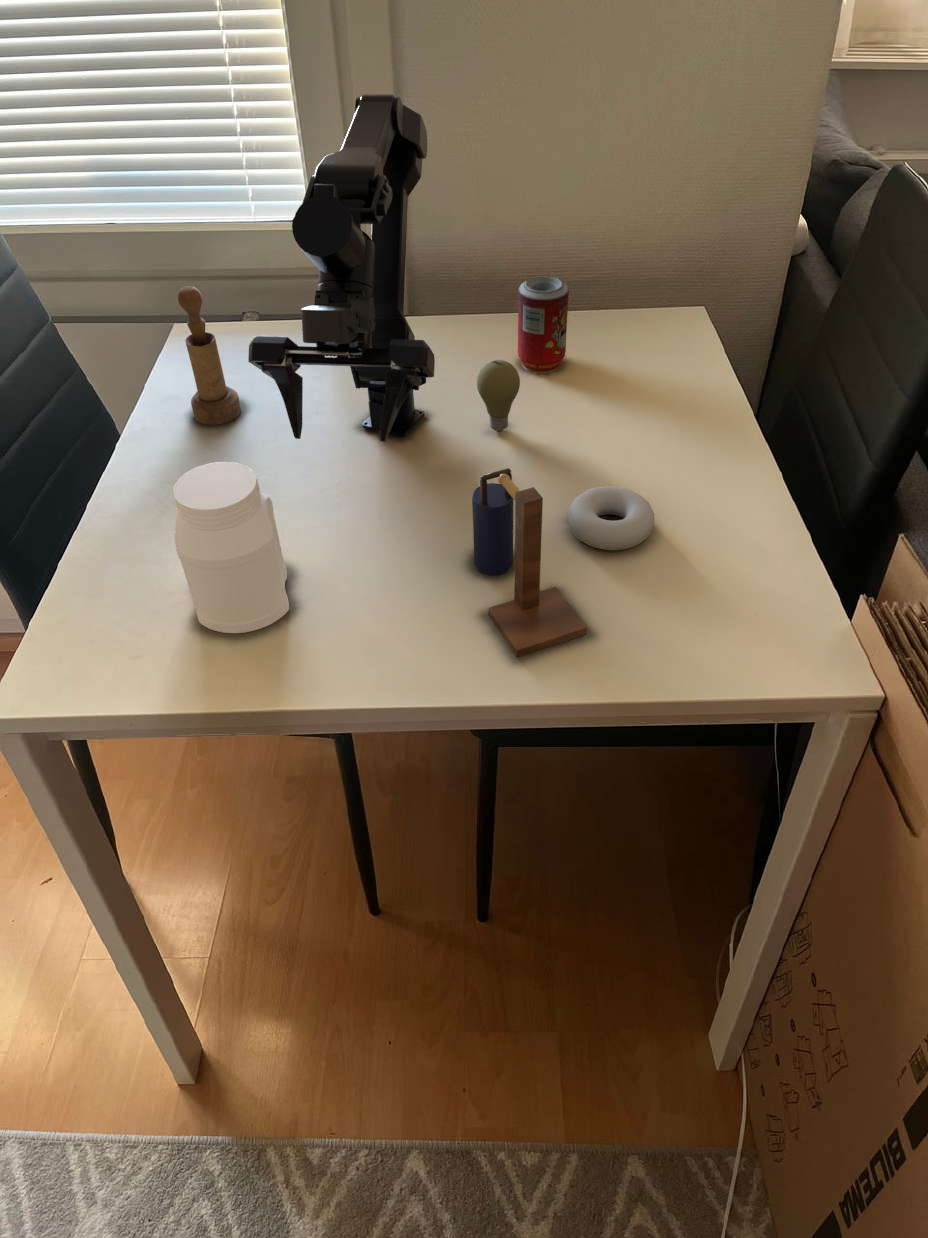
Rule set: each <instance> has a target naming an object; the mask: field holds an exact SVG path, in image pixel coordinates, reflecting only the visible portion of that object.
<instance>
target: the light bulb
mask: <svg viewBox="0 0 928 1238" xmlns="http://www.w3.org/2000/svg"><path fill="white" fill-rule="evenodd" d="M520 387H521V377H520V374H519V371H518V370H517V369H516V367H515V366H514V365H513V364H512V363H511V362H509V361H507V360H504V359H494V360H490V361H488V362H487V363H485V364H484V365H483V366H482V367H481V368H480V370H479V372H478V375H477V377H476V389H477V392H478V394H479V396H480V398H481V399H482V401H483V403H484V405H485V408H486V411H487V414H488V415H489V427H490V428H491V429H492V430H494V431H496V432H498V433H501V432H503V431H504V430H506V429H507V428H508V427H509V415H510V412H511V409H512V405H513V403H514V401H515V399H516V398H517V396H518V393H519V391H520Z"/></svg>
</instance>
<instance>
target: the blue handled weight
mask: <svg viewBox="0 0 928 1238" xmlns="http://www.w3.org/2000/svg"><path fill="white" fill-rule="evenodd" d="M501 474H507V475H509V477H510V479H511V481H512V482H513V479H512V478H513V474H512V469H511V468H509V467H507V468H504V469H500V470H497V471H493V472H489V473H486V474H482V475H481V476H480V479H479V486H478V487H476V488H475V489H474V490H473V492H472V494H471V502H472V504H471V505H472V507H471V509H472V541H473V565H474V567H475V569H476V570H477V571H478V572H479V573H482V574H484V575H488V576H499V575H503V574H505V573H508V572H509V571H510V570H511V569H512V567H513V565H514V508H515V500H514V499H513V498H512V497H511V495H510V494H509V493H508V492H507V490H506V489H505V488H504V487H503V485H501V484H500V483H499V482H498V483H496V482H491V483H488V481H489V480H493V479H496V478H499V476H500V475H501Z"/></svg>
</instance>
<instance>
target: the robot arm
mask: <svg viewBox="0 0 928 1238" xmlns="http://www.w3.org/2000/svg"><path fill="white" fill-rule="evenodd" d="M427 155H428V133H427V127H426V125H425V122H424V120H423V117H422V115H421V114H420V113H418V112H416V111H414V110H413V109H412V108H410V107H408V106H407V105H404V104H403V101H402V99H401V97H400V96H396V95H394V94H393V93H371V94H370V93H363V94H362V95H361V96H357V97H356V98H355V103H354V114H353V118H352V121H351V123H350V126H349V128H348V131H347V133H346V136H345V138H344V141H343V143H342V146H341V148H340V150H338V151H335V152H333V153H330V154H327V155H325V156H324V157H323V158H322V160H320V162H319V164H318V165H317V166H316V168H315V171H314V174H312V175H311V177H310V179H309V183H308V185H307V188H306V191H305V194H304V197H303V200H302V203H301V204H300V205H299V206H298V209H297V210H296V211H295V214H294V217H293V218H292V222H291V230H292V235H293V238H294V241H295V243H296V244H297V245H298V247H299V248H300V249H301V251H302V252H303V253H304V254H305V255H306V257H307V259H309V260H310V261H311V262H312V264H313V265H314V266H315V267H316V268H317V269H318V286H317V290H315V295H314V303H313V305H308V306H305V307H302V308H301V309H300V312H301V313H300V314H301V326H302V327H301V331H302V342H303V343H305V344H315V346H308V345H307V346H302V345H300V346H299V345H298V344H297V343H296V342H294V341H293V340H292V339H290V338H289V336H284V335H283V336H282V335H281V336H280V335H279V336H278V335H277V336H276V335H255V336H254V337H253V339H251V341H250V342H249V344H248V363H249V364H251V365H252V366H254V367H256V368H257V369H258V370H261V372H262V373H263V374H265V375H266V376H268V377H270V378H271V379H272V380H274V382H275V384H276V387H277V388H278V390H279V393H280V395H281V397H282V401H283V404H284V408H285V411H286V414H287V417H288V421H289V424H290V427H291V432H292V434H293V437H294V438H295V439H296V440H300V439H301V437H302V430H303V392H304V391H303V389H304V386H303V384H304V383H303V382H304V381H303V379H304V377H303V376H302V375H300V374H299V373H297V371H298V370H299V369H300V368H301V366H332V367H333V366H335V367H337V366H338V367H350V371H351V376H352V379H353V383H354V387H355V389H367V394H368V395H367V396H368V411H369V416H368V417H367V418H366V419H365V420H364V421H363V422H362V423H361V424H362V425H361V426H362V428H363V429H366V430H370V431H375V432H378V433H379V440H380V442H381V443H386V442H387V440H388V437H389V435H390V436H393V437H397V438H404V437H405V436H407V434H408V433H409V432H410V431H412V429H413V428H414V427H415V426H416V425H417V424H419V422H420V421H421V420H422V419H423V418H424V417H425V415H426V414H425V411H424V410H420V409H416V408H415V397H414V391H420V386H423V385H426V383H427V378H429V379H430V378H434V377H435V366H436V365H435V363H436V360H435V354H434V352H433V350H432V349H431V348H430V345H429V344H428V343H427V342H426V341H425V340H424V339H415V338H416V337H415V334H414V332H413V330H412V328H411V326H410V324H409V322H408V320H407V319H406V317H405V315H404V310H405V309H404V305H405V285H406V282H405V280H406V255H407V228H408V204H409V203H408V202H409V196H410V195H411V194H412V192H413V191H414V189H415V188H416V186H417V184H418V183H419V181H420V180H421V178H422V169H423V160H424V159H425V160H426V158H427V157H428V156H427ZM362 225H371V234H370V235H368V234H367V233H366V232H365V231H363V230H362Z"/></svg>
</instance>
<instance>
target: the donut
mask: <svg viewBox="0 0 928 1238" xmlns="http://www.w3.org/2000/svg"><path fill="white" fill-rule="evenodd" d="M606 515H607V516H616V517H619V518H622V519H618V520H607V519H604V518H601V516H606ZM567 523H568V526H569V528H570V531H571V532H572V534H574V536H575V537H576V538H577V539H578V540H579V541H581V542H583V543H585V545H588V546H589V547H592V548H596V549H600V550H604V551H621V550H626V549H630V548H632V547H635V546H638V545H640V544H641V543H642V542H644V541H645V540H646V539H647V538H648V537H649V536H650V534H651V533H652V531H653V530H654V527H655V513H654V510H653V507H652V506H651V504H650V502H649V501H648V500H646V498H645V497H643V496H642V495H641V494H639V493H637V492H635V491H634V490H631V489H629V488H625V487H622V486H621V487H620V486H613V485H612V486H611V485H607V486H597V487H594V488H592V489H588V490H586V491H584V492H582V493H581V494H579V495H577V496H576V497H575V499H574V500H573V502H572V503H571V504H570V506H569V508H568V513H567Z"/></svg>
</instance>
